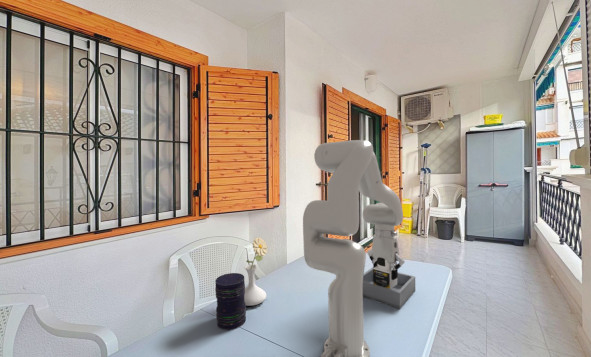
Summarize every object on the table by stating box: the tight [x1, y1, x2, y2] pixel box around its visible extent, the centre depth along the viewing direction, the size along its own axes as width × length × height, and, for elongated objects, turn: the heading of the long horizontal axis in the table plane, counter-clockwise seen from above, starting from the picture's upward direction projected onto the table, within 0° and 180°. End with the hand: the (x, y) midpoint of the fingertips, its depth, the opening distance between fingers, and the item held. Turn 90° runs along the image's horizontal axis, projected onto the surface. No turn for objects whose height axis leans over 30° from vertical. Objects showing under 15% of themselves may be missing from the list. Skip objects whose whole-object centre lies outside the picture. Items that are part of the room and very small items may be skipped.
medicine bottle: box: [372, 257, 397, 289], centre depth 106 cm, size 7×7×12 cm
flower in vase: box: [244, 236, 269, 307], centre depth 102 cm, size 13×11×25 cm
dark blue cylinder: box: [214, 272, 247, 331], centre depth 89 cm, size 10×10×15 cm
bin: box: [363, 267, 416, 310], centre depth 106 cm, size 18×18×6 cm
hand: (385, 275), depth 106 cm, fingers closed on medicine bottle, 7 cm apart
